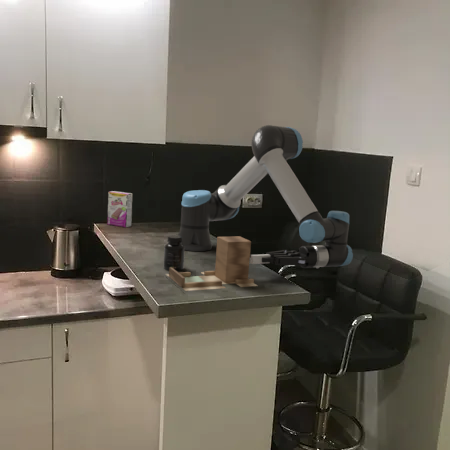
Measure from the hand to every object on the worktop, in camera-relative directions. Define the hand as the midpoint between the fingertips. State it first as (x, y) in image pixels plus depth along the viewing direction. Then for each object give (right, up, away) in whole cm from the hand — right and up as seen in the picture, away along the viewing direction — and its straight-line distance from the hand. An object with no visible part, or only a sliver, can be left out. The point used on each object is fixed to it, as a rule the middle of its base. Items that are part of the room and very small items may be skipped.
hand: (251, 259), depth 161 cm
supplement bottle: (-26, -5, +7) cm, 27 cm away
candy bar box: (-60, +11, +83) cm, 103 cm away
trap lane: (-13, -7, -4) cm, 15 cm away
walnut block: (-7, -6, -1) cm, 9 cm away
